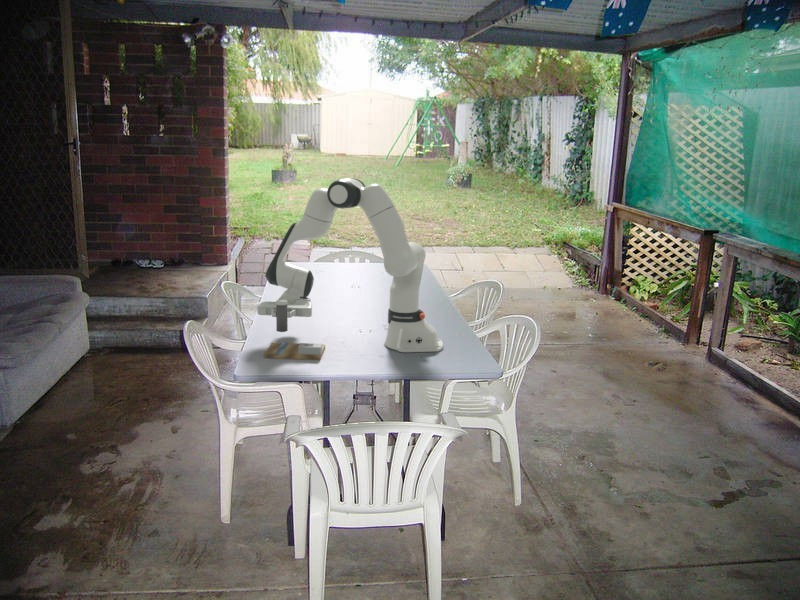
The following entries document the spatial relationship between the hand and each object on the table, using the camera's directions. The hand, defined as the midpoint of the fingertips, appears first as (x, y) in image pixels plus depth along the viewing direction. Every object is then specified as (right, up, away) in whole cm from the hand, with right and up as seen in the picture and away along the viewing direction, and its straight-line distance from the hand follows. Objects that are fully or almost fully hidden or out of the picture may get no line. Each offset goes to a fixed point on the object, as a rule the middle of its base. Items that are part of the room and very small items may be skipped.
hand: (281, 315), depth 247 cm
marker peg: (0, -6, +2) cm, 6 cm away
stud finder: (+11, -13, -2) cm, 17 cm away
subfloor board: (+5, -14, +2) cm, 15 cm away
